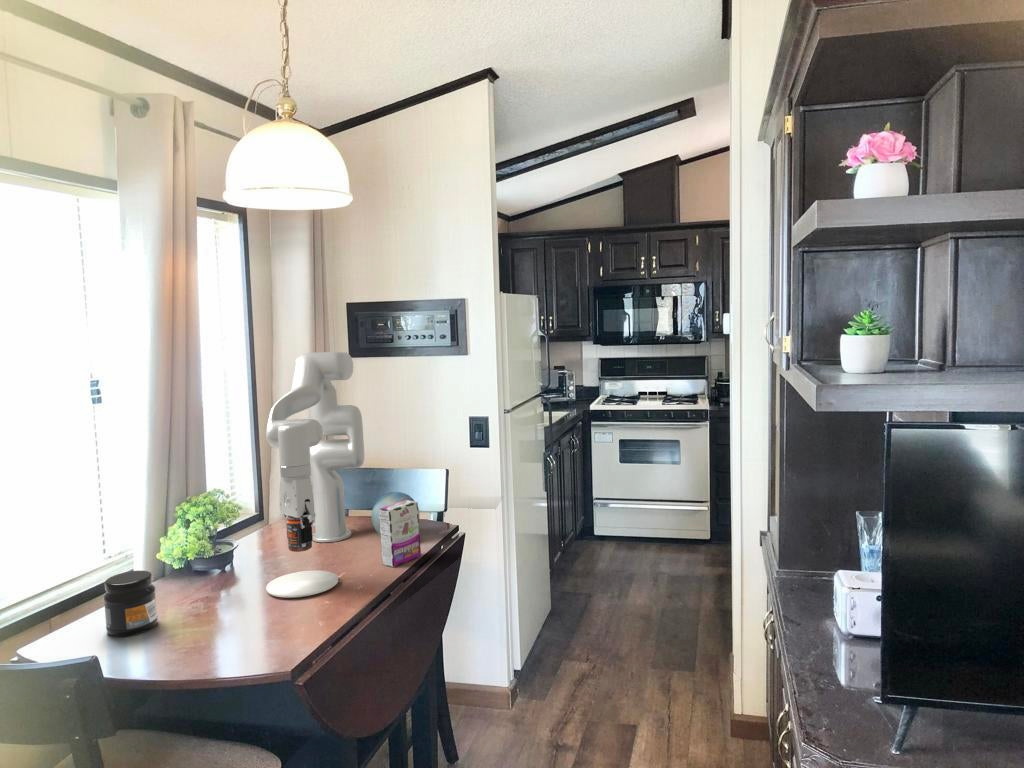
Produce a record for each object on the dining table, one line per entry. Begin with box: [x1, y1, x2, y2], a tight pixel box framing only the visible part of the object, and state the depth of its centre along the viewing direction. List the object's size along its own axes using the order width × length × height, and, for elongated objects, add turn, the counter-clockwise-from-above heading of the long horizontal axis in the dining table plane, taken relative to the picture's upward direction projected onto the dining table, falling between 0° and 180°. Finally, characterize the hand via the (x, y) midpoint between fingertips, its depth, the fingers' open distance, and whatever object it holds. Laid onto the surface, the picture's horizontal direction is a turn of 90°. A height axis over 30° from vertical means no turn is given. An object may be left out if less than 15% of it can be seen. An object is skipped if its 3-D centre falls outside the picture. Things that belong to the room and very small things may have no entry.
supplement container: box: [102, 570, 159, 637], centre depth 163 cm, size 10×10×12 cm
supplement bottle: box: [286, 513, 313, 553], centre depth 185 cm, size 6×6×11 cm
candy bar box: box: [379, 500, 422, 568], centre depth 203 cm, size 11×5×16 cm, turn 143°
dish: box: [265, 569, 339, 599], centre depth 186 cm, size 18×18×1 cm
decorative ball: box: [371, 491, 421, 536], centre depth 225 cm, size 15×15×15 cm
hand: (299, 539), depth 185 cm, fingers closed on supplement bottle, 6 cm apart
